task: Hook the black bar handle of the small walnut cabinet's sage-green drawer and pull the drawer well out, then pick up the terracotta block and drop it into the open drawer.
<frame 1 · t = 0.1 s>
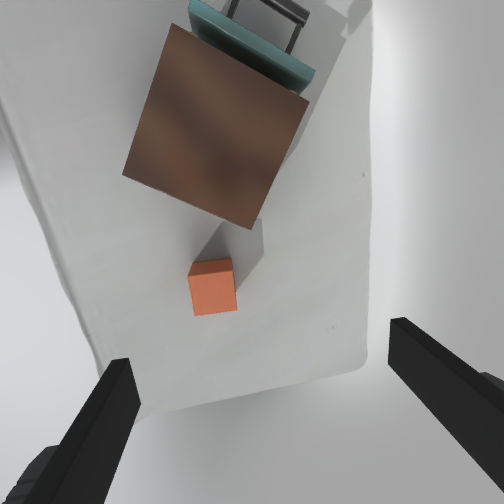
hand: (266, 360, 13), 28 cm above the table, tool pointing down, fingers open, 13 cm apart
drawer: (238, 89, 30), point 5 cm above the table, slide at 2.0 cm
cabinet: (217, 149, 36), on the table
block: (214, 277, 41), on the table
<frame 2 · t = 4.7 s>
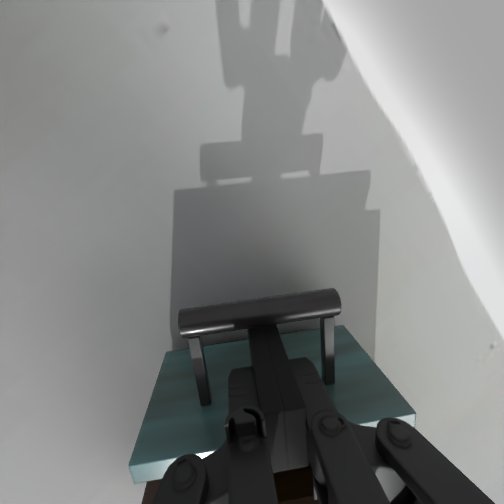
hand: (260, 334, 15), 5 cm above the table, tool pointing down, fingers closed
drawer: (270, 425, 17), point 5 cm above the table, slide at 2.9 cm
cabinet: (267, 439, 23), on the table
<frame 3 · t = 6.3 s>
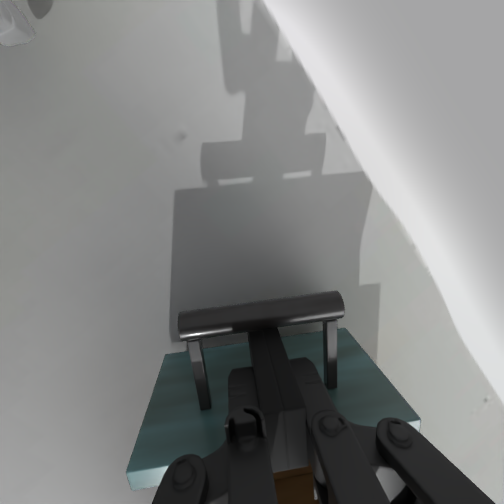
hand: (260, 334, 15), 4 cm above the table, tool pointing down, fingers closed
drawer: (271, 430, 16), point 5 cm above the table, slide at 8.5 cm, touching gripper
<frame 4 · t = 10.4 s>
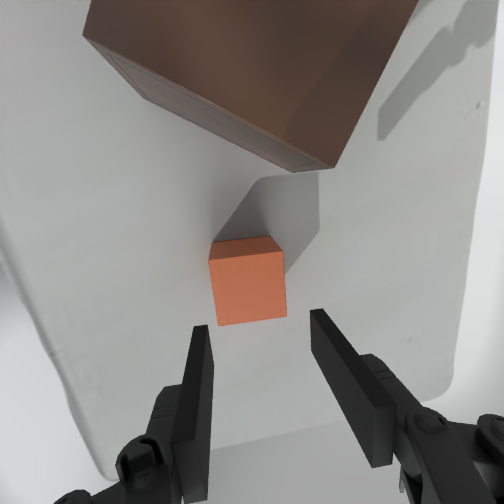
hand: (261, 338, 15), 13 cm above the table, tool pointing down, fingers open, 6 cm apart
cabinet: (256, 53, 22), on the table
block: (244, 266, 27), on the table
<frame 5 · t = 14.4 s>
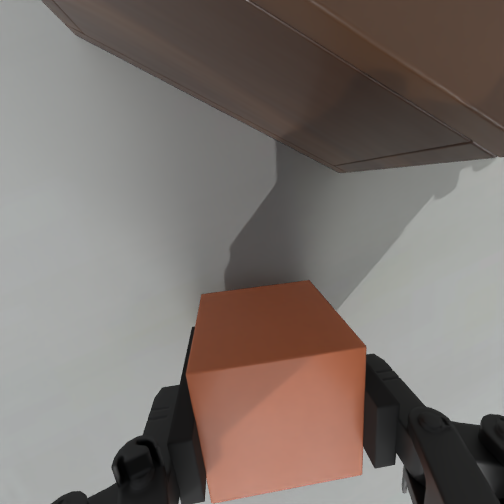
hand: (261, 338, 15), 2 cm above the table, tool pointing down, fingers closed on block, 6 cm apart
block: (260, 334, 15), point 2 cm above the table, touching gripper
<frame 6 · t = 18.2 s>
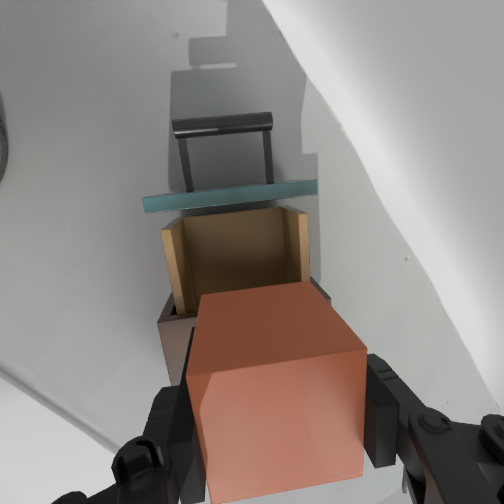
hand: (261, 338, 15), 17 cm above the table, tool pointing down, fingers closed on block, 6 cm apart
drawer: (235, 229, 25), point 5 cm above the table, slide at 8.7 cm
cabinet: (246, 325, 33), on the table
block: (261, 334, 15), point 16 cm above the table, touching gripper
when the fingers open (5 cm above the table, at t = 22.2 s): block stays where it is, resting on drawer.
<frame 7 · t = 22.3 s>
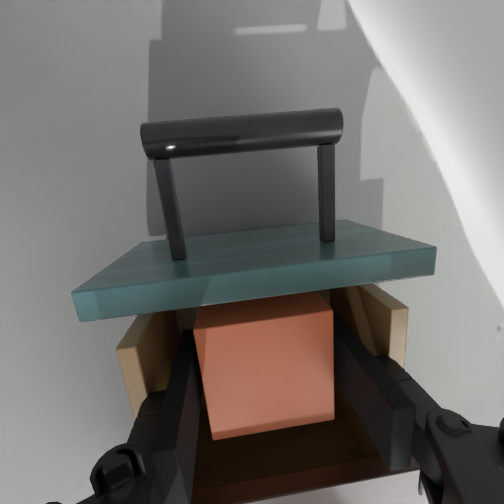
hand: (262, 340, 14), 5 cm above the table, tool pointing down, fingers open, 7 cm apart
drawer: (259, 312, 14), point 5 cm above the table, slide at 8.9 cm, touching block, gripper
cabinet: (265, 424, 23), on the table
block: (254, 313, 17), point 2 cm above the table, touching drawer
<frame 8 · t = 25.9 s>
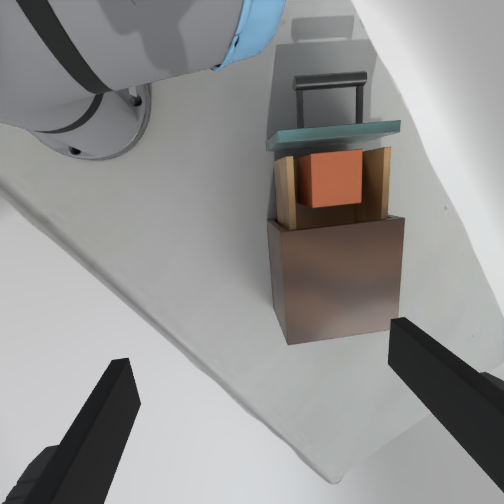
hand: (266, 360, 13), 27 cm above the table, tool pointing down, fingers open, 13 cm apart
drawer: (326, 166, 32), point 5 cm above the table, slide at 9.4 cm, touching block
cabinet: (316, 260, 41), on the table
block: (318, 179, 35), point 2 cm above the table, touching drawer
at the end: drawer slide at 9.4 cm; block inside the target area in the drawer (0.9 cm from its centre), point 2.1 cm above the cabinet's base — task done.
